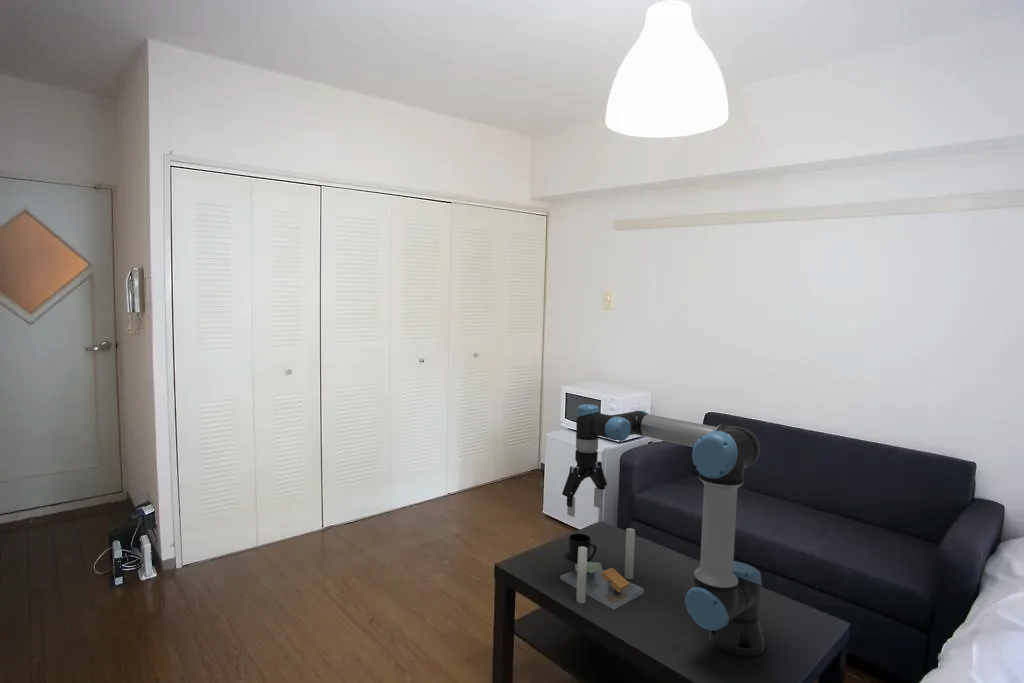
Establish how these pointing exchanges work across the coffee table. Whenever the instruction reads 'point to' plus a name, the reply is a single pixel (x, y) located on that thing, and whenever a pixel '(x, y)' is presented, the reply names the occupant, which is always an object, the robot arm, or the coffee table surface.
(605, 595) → the panel
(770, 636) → the coffee table surface
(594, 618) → the coffee table surface
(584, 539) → the mug
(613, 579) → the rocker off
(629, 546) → the cord post right
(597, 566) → the rocker on
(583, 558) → the cord post left
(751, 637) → the robot arm
